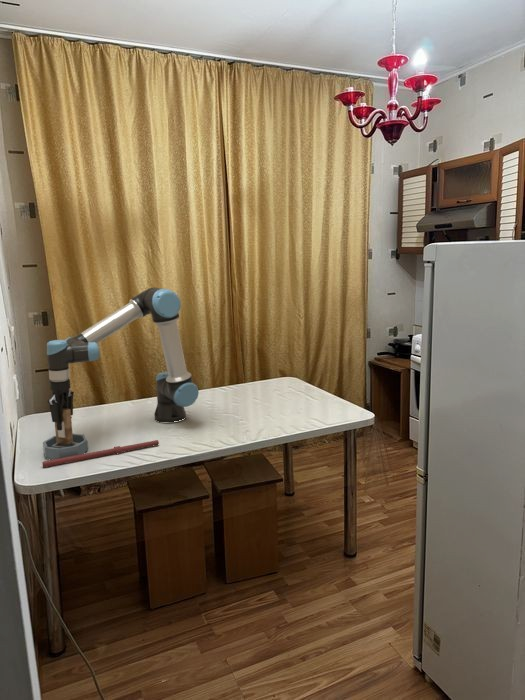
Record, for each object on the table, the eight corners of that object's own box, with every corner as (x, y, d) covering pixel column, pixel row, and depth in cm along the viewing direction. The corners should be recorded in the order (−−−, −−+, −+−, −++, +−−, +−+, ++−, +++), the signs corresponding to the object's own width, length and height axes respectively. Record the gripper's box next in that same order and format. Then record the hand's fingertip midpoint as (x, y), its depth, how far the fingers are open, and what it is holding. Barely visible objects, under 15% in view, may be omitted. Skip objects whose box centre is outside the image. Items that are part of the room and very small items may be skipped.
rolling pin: (157, 444, 216) (156, 437, 215) (159, 447, 213) (159, 440, 213) (42, 466, 195) (41, 459, 195) (43, 470, 193) (42, 462, 192)
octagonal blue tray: (94, 447, 213) (94, 435, 212) (71, 462, 198) (70, 450, 197) (61, 443, 217) (60, 432, 216) (35, 458, 202) (34, 446, 201)
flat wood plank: (73, 441, 207) (70, 409, 204) (69, 444, 205) (66, 410, 202) (60, 440, 209) (57, 407, 206) (56, 442, 206) (53, 409, 203)
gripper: (63, 374, 209) (68, 428, 214) (38, 383, 195) (43, 441, 200) (79, 375, 208) (83, 429, 212) (55, 385, 193) (60, 443, 198)
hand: (64, 435), depth 206 cm, fingers closed on flat wood plank, 2 cm apart
